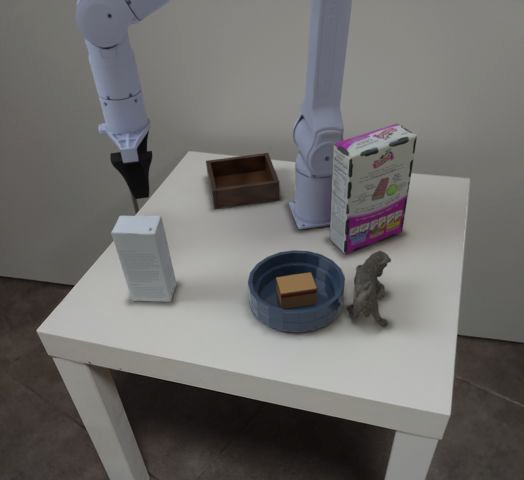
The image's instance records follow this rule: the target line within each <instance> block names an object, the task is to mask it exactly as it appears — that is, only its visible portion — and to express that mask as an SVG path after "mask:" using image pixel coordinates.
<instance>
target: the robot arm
mask: <svg viewBox="0 0 524 480" xmlns="http://www.w3.org/2000/svg"><path fill="white" fill-rule="evenodd" d="M172 1H173V0H77V1H76V6H75V7H76V8H75V21H76V25H77V28H78V30H79V33H81V35H82V36H83V38H84V44H85V48H86V50H87V52H88V62H89V66H90V70H91V74H92V77H93V81H94V86H95V88H96V92H97V95H98V99H99V104H100V107H101V111H102V115H103V119H104V122H105V123H104V122H103V123H99V124H98V125H97V126H98V127H97V131H98V134H99V135H101V136H105V135H107V136H108V137H109V138H110V139H111V141H112V142H113V143H114V144H115V145H116V147H117V148H118V149H119V151H118V152H110V156H109V159H110V163H111V165H112V167H113V168H115V170H116V171H118V173H119V174H120V175H121V176H122V177H123V179H124V181H125V183H126V185H127V187H128V189H129V191H130V193H131V194H132V197H133V198H134V199H135V200H140V199H147V198H149V197H150V168H151V165H152V161H153V150H148V138H149V134H150V129H151V121H150V118H148V114H147V108H146V105H145V99H144V95H143V89H142V85H141V79H140V76H139V75H140V74H139V71H138V66H137V61H136V56H135V52H134V50H133V48H132V47H131V42H130V37H129V32H128V31H129V26H130V25H136V24H139V23H140V22H142V21H143V20H145V19H147V18H148V17H149V16H151V15H153V14H154V13H156V12H157V11H159V10H160V9H161V8H163V7H165V6H167V5H168V4H169V3H171V2H172ZM310 4H311V5H310V15H309V16H310V19H309V31H308V45H307V46H308V47H307V58H306V59H307V60H306V73H305V74H306V75H305V89H304V90H305V91H304V99H303V100H302V102H301V103H300V105H299V113H298V117H297V119H296V121H295V123H294V125H293V127H292V133H291V134H292V139H293V142H294V144H295V145H296V147H297V148H298V153H297V157H296V159H295V163H294V164H295V165H294V166H295V167H294V181H295V183H294V200H290V201H289V202H288V205H289V208H290V211H291V213H292V216H293V219H294V222H295V224H296V227H297V229H298V230H307V229H315V228H321V227H329V226H330V221H331V195H332V168H333V144H334V143H337V142H341V141H344V140H345V139H344V132H345V125H344V121H343V115H342V110H341V100H342V92H343V83H344V73H345V66H346V58H347V57H346V56H347V49H348V48H347V47H348V38H349V30H350V23H351V13H352V4H353V0H311V3H310Z"/></svg>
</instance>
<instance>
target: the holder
mask: <svg viewBox="0 0 524 480" xmlns="http://www.w3.org/2000/svg"><path fill="white" fill-rule="evenodd" d="M205 166H206V173H207V174H206V175H207V180H208V184H209V189H210V195H211V200H212V205H213V209H214V210H217V209H225V208H232V207H238V206H247V205H254V204H261V203H268V202H274V201H280V199H281V198H280V197H281V194H280V193H281V191H280V190H281V189H280V188H281V187H280V180H279V177H278V175H277V172H276V169H275V167H274V164H273V162H272V159H271V156H270V154H269V152H264V153H263V152H262V153H255V154H248V155H239V156H232V157H224V158H216V159H208V160H205Z"/></svg>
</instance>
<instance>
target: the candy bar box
mask: <svg viewBox="0 0 524 480" xmlns="http://www.w3.org/2000/svg"><path fill="white" fill-rule="evenodd" d="M417 138H418V135H417V134H415V133H414V132H412V131H410V130H409V129H407V128H406V127H403V125H401V124H400V123H394V124H390V125H388V126H385V127H381V128H379V129H376V130H372V131H369V132H366V133H362V134H360V135H356V136H354V137H351V138H347V139H343V140H344V141H341V142H337V143H334V144H333V168H332V195H331V221H330V225H329V226H330V227H329V240H330V242H331V243H332V244H333V245H335V246H336V247H337V248H338V249H339V250H340V251H341V252H342V254H344V255H348V254H351V253H354V252H357V251H359V250H362V249H364V248H366V247H369V246H372V245H374V244H376V243H381V242H382V241H384V240H387V239H390V238H392V237H395V236H397V235H400V234H403V230H404V225H405V216H406V210H407V204H408V197H409V192H410V191H409V190H410V183H411V177H412V172H413V166H414V158H415V151H416V146H417V140H418V139H417Z"/></svg>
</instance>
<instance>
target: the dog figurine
mask: <svg viewBox="0 0 524 480" xmlns="http://www.w3.org/2000/svg"><path fill="white" fill-rule="evenodd" d="M391 262H392V258H391V257H390V256H389V255H388V253H385V252H384V251H382V250H378V251H375V252H373V253H371V254H370V255H369V256H368V257H367V258H366V259H365V260H364V262H363V263H362V264H358V265H356V267H355V275H354V278H353V284H354V287H353V288H354V289H353V291H354V298H353V300H352V304H349V305H348V306H347V307H346V309H347V311H348V312H349V315H351V318H352V320H354V319H356V318H357V317H358V316H359V314H362V315H363V317H365V318H370V317H371V316H372V318H373V319H374V321H375V322H376V323H378V324H379V325H381V326H382V325H383V326H387V325H388V324H389V322H388V320H387V319H386V318H383V317H382V316H381V313H380V309H379V307H380V306H379V300H381V298H384V297H385V296H386V295H387V291H386V288H385V285H384V284H383V283H381V281H379V279H378V278H380V277H382V276H383V273H384V269H385V268H387V266H388V264H389V263H391Z"/></svg>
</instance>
